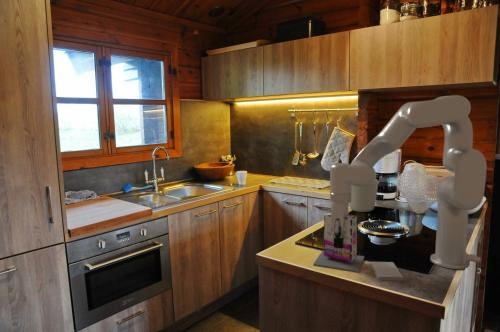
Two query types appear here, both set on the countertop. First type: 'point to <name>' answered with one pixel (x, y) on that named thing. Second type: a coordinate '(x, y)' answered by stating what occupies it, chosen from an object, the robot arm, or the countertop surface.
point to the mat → (339, 263)
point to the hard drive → (386, 271)
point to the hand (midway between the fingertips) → (340, 244)
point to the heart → (425, 179)
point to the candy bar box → (348, 236)
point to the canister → (363, 196)
